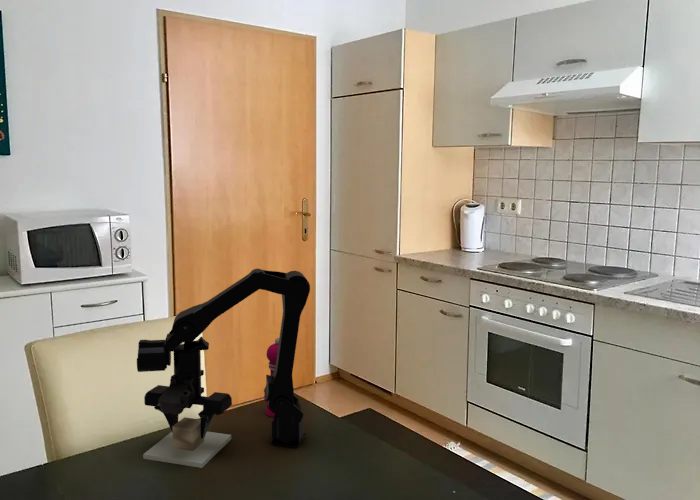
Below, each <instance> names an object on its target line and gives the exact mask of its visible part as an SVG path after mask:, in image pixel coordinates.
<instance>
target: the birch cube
mask: <svg viewBox="0 0 700 500" xmlns="http://www.w3.org/2000/svg"><path fill="white" fill-rule="evenodd" d="M200 426H201V418H200V419H199V418H192V417H185V416H184V417H183V418H181V419H180V420H178V423H176V424H175V425H174V426H172V431H173V448H177V449H184V450H190V451H194V450H195V449H196V448H197V447H198V446H199V445H201V444H202V443H203V442H204V438H203V439H201V434H200ZM172 431H171V432H172Z"/></svg>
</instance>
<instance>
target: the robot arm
mask: <svg viewBox="0 0 700 500" xmlns="http://www.w3.org/2000/svg"><path fill="white" fill-rule="evenodd" d="M259 290H263V291H266V292H271V293H273V294H278V295H281V300H282V317H281V323H280V332H279V337H278V338H279V345H278V352H277V360H276V367H275V370H274V373H273V375H272V376H270V375H269V374H266V375H265V376H266V377H265V379H266V380H265V381H266V383H265V388H264V389H263V393H264V394H265V399H266V402H267V401H268V404H267V405H269V409H270V410H271V411H272V412H273V413H274V414H275V415H274V417H273V419H272V421H271V441H270V444H271V445H274V446H280V447H286V448H294V449H297V448H298V447H299V446H300V445H301V444H302V442H303V441H304V439H305V438H306V437H307V435H306V433H304V412H303V411H304V410H303V408H302V405H301V403H300V400H299V397H297V396H296V395H295V394H294V393H295V391H294V380H293V371H294V363H295V357H296V350H297V342H298V334H299V329H300V328H299V327H300V320H301V315H302V313H303V310H304V308H305V306H306V303H307V301H308V298H309V294H310V292H311V285H310V282H309V281H308V279H307V278H306V276H305V275H304V274H303V273H302V272H301V271H298V270H291V271H288V272H283V271H277V270H266V269H265V270H264V269H261V268H254V269H252V270H250V272H249V273H248V274H247V275H244V276H243V277H242V278H240V279H239V280H237V281H236V282H235V283H232V284H231V285H230V286H229V287H227V288H225V289H223V290H222V291H221V292H219V293H218V294H216V295H214V296H213V297H212V298H210V299H208V300H207V301H204V302H203V303H200V304H196V305H194V306H191V307H188V308H186V309H184V310H182V311H180V312H178V313H177V314H176V316H175V317H174V319H173V324H172V329H170V331H169V332H168V333H167V334H166V337H165V339H152V340H151V339H140V340H139V341H138V344H137V345H138V349H137V358H136V369H137V372H138V373H142V372H143V373H145V372H146V373H147V372H161V371H162V372H163V371H164V372H165V371H166V369H168V366H171V365H172V352H173V374H172V375H171V376H170V379H169V380H170V381H169V386H168V385H161V384H160V385H159V384H158V385H156V386H154V387H153V388H151V389H150V390H148V391H147V392H146V393H145V394H144V398H143V399H144V401H143V402H144V406H147V407H154V410H157V411H159V412H160V413H162V414H163V415H164V417H165V420H166V422H167V423H168V426H169V428H170V430H171V432H172V433H173V431H172V426H174V425H175V424H176V423H178V422H179V415H180V414H182V413H183V412H184V410H185V409H191V408H192V406H193V405H197V406H202V410H201V411H200V412H198V414H197V415H198V416H199V418H200V420H201V426H200V434H201V439H203V438H204V437H205V435H206V433H207V432H208V429H209V428H210V425H211V422H212V420H213V418H214V416H215V415H216V416H219V415H222V414H223V413H225V412H226V411H227V410H228V409H229V408H231V406H232V405H233V404H232V403H233V400H232V399H233V398H232V396H231V395H230V393H225V392H217V391H215V392H213V393H212V394H211V395H209V396H204V395H203V394H204V393H205V387H202V377H203V376H204V375H205V373H204V369H202V366H201V365H202V363H201V362H202V361H201V359H202V356H201V351H208V350H209V346H210V342H208V341H207V340H205V339H204V337H203V336H200V335H201V334H203V332H204V331H206V329H208V327H209V326H210V325H211V324H212V322H214V321H215V320H216V319H217V318H218V317H220V316H221V315H223V314H225V313H226V312H227V311H229V310H230V309H232V308H233V307H235V306H236V305H238V304H239V303H241V302H242V301H244V300H245V299H247V298H248V297H249V296H251V295H253V294H255V293H256V292H257V291H259ZM199 336H200V337H199ZM198 337H199V338H198ZM197 338H198V339H197ZM266 402H265V403H266Z"/></svg>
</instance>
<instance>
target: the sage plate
mask: <svg viewBox="0 0 700 500" xmlns="http://www.w3.org/2000/svg"><path fill="white" fill-rule="evenodd" d="M231 440H232V434H227V433H220V432H213V431H207V433H206V435H205V437H204V442H203V443H202V444H201V445H199V446H198V447H197V448H196V449H195V450H194V451H190V450H184V449H177V448H173V433H172V431H171V432H169V433H168V434H167V435H166V436H164V437H163V438H161V440H159V441H158V442H157V443H155V444H154V445H153V446H152V447H150V448H149V449H148V450H146V451H145V452H144V453H143V454H142V455H143V456H142V457H143V458H142V459H144V460H149V461H157V462H162V463H170V464H175V465H182V466H188V467H194V468H200V469H204V467H205V466H206V464H208V463H209V461H211V460H212V459H213V457H215V456H216V454H218V453H219V452H220V451H221V450H222V449H223V448H224V447H225V446H226V445H227V444H228V443H229V442H230V441H231Z"/></svg>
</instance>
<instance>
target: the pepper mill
mask: <svg viewBox="0 0 700 500" xmlns="http://www.w3.org/2000/svg"><path fill="white" fill-rule="evenodd" d="M279 338H280V337H276V338H275V339H274V343H273V344H271V345H270V346H268V347H267V351H266V358H267V360H268V361H269V362H268V369H269V371H270V372H269V373H270V376H272V375H273V373H274V370H275V367H276V360H277V352H278V345H279ZM263 401H264V402H265V403H266V406H265V414H266V415H267V416H268V417H270V418H274V415H275V414H274V413H273V412H272V411H271V410H270V409H269V405H268V401H267V402H266V399H265V394H264V396H263Z"/></svg>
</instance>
